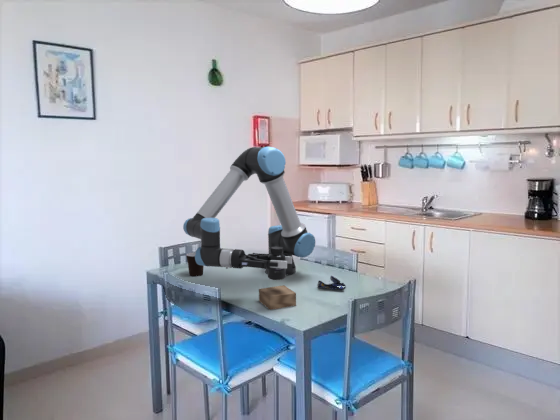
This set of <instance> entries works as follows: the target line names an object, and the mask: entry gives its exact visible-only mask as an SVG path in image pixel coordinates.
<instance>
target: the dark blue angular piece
mask: <svg viewBox="0 0 560 420" xmlns="http://www.w3.org/2000/svg"><path fill="white" fill-rule="evenodd" d="M329 279H330V280H329V281H328V282H329V283H325V282H323V281H322V280H318V281H317V285H316V287H317V288H322V289H326V290H341V291H343V290H344V289H345V288H346V284H345V283H344V282H341V280H340V279H338V277H335V276H333V275H330V278H329ZM330 281H331V283H330ZM337 286H341V287H340V288H339V287H337ZM342 286H345V287H344V288H343V287H342Z"/></svg>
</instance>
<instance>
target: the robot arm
mask: <svg viewBox="0 0 560 420" xmlns="http://www.w3.org/2000/svg"><path fill="white" fill-rule="evenodd" d="M286 163H287V162H286V157H285V155H284V153H283V152H282V151H281V150H280V149H278V148H276V147H272V146H261V147H259V146H253V147H249V148H247V149H246V150H244V151H243V152H241V153H240V154H239V156H238V157H236V159H235V160H234V161H233V162H232V164H231V165H230V166H229V169H230V170H229V171H228V173H226V175H225V176H224V177H223V179H222V180H221V181H220V183H219V184H218V185H217V187H216V188H215V189H214V191H212V193H211V194H210V195H209V197H208V198H207V200H206V201H205V202H204V203H203V205H202V206H201V207H200V208H199V209H198V211H197V212H196V213H195V215H194V216H193V217H191V218H188V219H185V220H184V222H183V226H182V227H183V231H184V233H185V234H186V235H188V236H189V237H192V238H196V239H198V240H200V246H199V247H197V248H196V251H195V252H196V255H195V261H196V263H197V264H198V265H202V266H205V267H215V268H217V267H218V268H225V269H226V270H227V269H229V268H230V269H238V270H239V269H240V270H242V269H243V268H256V269H264V271H265V273H266V274H267V275H268V270H269V269H270V267H272V268H285V276H291V275H294V274H295V273H296V271H297V266H296V264H295V261H294V258H293V256H295V257H297V258H306V257H309V256H310V255H311V254H312V253H313V251H314V250H315V247H316V237H315V236H314V235H313V234H312V233H311V232H308V230H307V227H306V225H305V224H304V223H302V222H301V221H300V218H299V215H298V212H297V211H296V210H297V209H296V208H295V206H294V203H293V201H292V197H291V193H290V192H289V188H288V187H287V183H286V182H285V179H284V176H285V173H286V172H285V168H286V166H285V165H286ZM254 174H255V175H256V176H257V178H258V180H259V182H260V184H264V186H265V189H266V191H267V193H268V196H269V198H270V201H271V204H272V206H273V208H274V211H275V214H276V216H277V218H278V221H279V223H280V225H272V226H270V227H269V228H268V231H267V233H268V234H267V236H268V237H267V239H268V240H267V241H268V249H267V250H268V253H257V252H252V253H248V254H246V252H245V250H243V249H237V248H235V249H234V248H221V226H220V224H221V223H220V219H218V218H217V216H218V215H219V214H220V212H221V211H222V210H223V208H224V207H225V206H226V205H227V203H228V202H229V200H230V199H231V198H232V197H233V195H234V194H235V193H236V191H237V190H238V189H239V188H240V186H241V185H242V184H243V183H244V182H246V181H248V180H249V178H250V177H251V176H253V175H254ZM271 247H282V248H283V254H284V255H285V257H286V261H278V260H270V262H269V261H268V256H269V255H270V254H271Z"/></svg>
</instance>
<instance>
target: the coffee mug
mask: <svg viewBox="0 0 560 420" xmlns="http://www.w3.org/2000/svg"><path fill="white" fill-rule="evenodd" d="M185 255H186V261H187V267H188V268H187V269H188V274H189V276H190V277H202V276H203V274H204V266H202V265H198V264H197V263H196V261H195V255H196V251H195V252H189V253H186V254H185Z"/></svg>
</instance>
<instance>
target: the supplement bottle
mask: <svg viewBox="0 0 560 420" xmlns="http://www.w3.org/2000/svg"><path fill="white" fill-rule="evenodd" d="M270 260H278V261H286V257H285V255H284V254H283V248H282V247H271V254H270V255H269V256H268V261H269V262H270ZM267 278H268V279H269V280H272V281H280V280H281V281H282V280H285V278H286V275H285V268H272V267H270V269H269V270H268V274H267Z"/></svg>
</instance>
